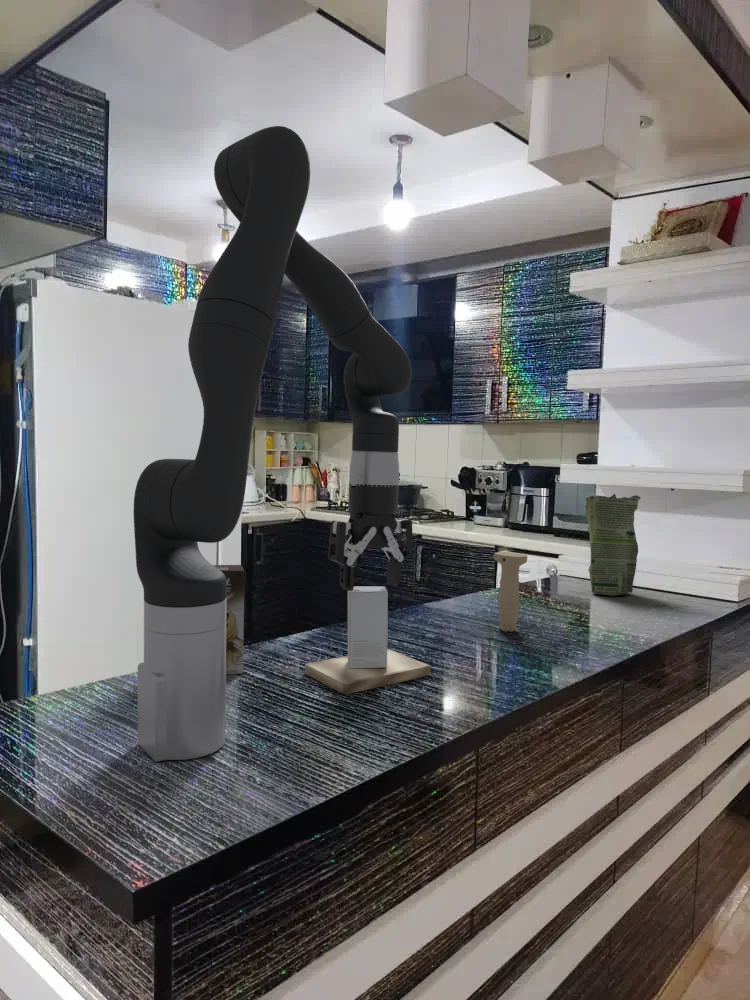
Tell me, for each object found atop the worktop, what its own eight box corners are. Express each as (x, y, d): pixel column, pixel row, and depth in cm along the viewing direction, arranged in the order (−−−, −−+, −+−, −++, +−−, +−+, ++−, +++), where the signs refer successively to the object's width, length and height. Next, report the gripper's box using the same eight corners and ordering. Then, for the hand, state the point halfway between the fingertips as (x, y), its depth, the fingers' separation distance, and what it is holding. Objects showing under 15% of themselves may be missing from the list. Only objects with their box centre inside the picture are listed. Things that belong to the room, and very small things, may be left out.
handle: (515, 635, 134) (518, 557, 133) (486, 629, 139) (489, 553, 138) (528, 631, 138) (531, 555, 137) (500, 625, 142) (503, 551, 141)
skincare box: (384, 660, 112) (386, 585, 111) (387, 669, 107) (390, 590, 106) (345, 660, 111) (347, 584, 110) (347, 670, 107) (349, 590, 106)
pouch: (578, 592, 177) (582, 493, 175) (597, 586, 186) (602, 491, 184) (622, 599, 170) (627, 496, 168) (639, 592, 179) (645, 494, 177)
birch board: (345, 694, 100) (345, 684, 100) (305, 673, 109) (305, 663, 109) (430, 675, 110) (430, 665, 110) (387, 657, 119) (387, 648, 119)
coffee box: (182, 677, 106) (183, 571, 105) (182, 664, 112) (182, 564, 111) (244, 674, 108) (245, 569, 107) (240, 661, 114) (241, 562, 113)
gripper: (395, 481, 114) (392, 580, 115) (320, 480, 106) (317, 587, 107) (425, 483, 108) (421, 588, 109) (349, 482, 100) (345, 596, 101)
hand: (370, 587), depth 108 cm, fingers open, 8 cm apart
